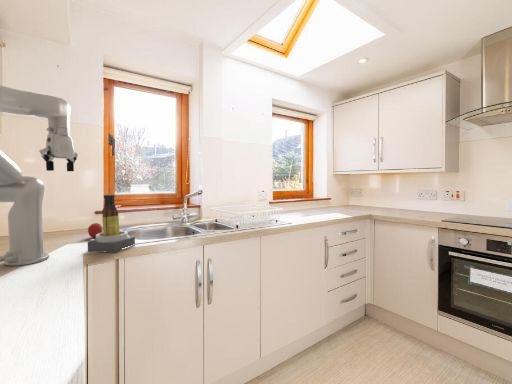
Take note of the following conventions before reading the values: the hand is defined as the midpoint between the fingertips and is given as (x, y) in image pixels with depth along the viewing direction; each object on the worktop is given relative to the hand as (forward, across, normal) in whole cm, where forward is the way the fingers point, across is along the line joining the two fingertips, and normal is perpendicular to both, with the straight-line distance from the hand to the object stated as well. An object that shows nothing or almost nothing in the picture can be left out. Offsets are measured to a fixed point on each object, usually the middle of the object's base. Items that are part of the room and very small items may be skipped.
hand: (60, 170), depth 116 cm
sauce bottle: (+31, +2, -24) cm, 39 cm away
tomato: (+34, +18, -1) cm, 39 cm away
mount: (+34, +2, -24) cm, 42 cm away
